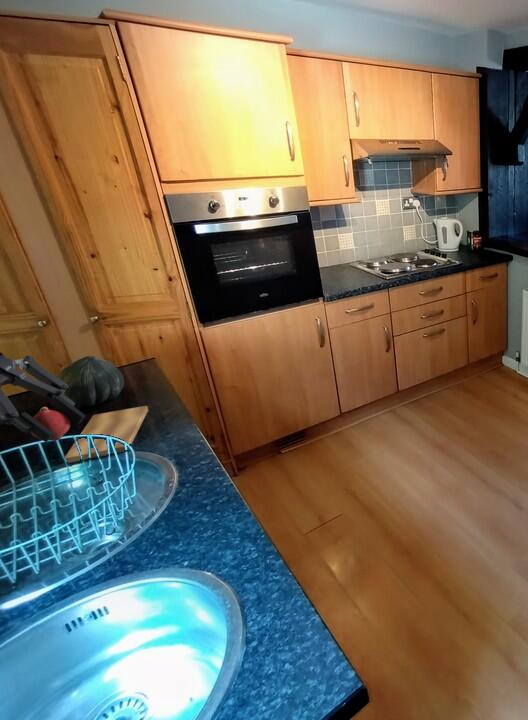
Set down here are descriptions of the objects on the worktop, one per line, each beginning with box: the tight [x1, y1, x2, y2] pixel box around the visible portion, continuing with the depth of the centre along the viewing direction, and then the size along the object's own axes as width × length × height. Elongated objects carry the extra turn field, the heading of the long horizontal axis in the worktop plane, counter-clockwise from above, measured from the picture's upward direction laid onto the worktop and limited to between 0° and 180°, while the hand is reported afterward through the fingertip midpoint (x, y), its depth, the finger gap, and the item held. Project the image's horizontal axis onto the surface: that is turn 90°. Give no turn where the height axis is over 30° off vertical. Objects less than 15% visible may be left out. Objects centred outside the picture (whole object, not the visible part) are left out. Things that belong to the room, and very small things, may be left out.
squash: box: [55, 355, 125, 409], centre depth 130 cm, size 14×15×15 cm
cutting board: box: [64, 405, 149, 464], centre depth 118 cm, size 12×20×2 cm, turn 25°
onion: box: [30, 406, 71, 442], centre depth 94 cm, size 6×6×8 cm
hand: (66, 428), depth 93 cm, fingers closed on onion, 6 cm apart
